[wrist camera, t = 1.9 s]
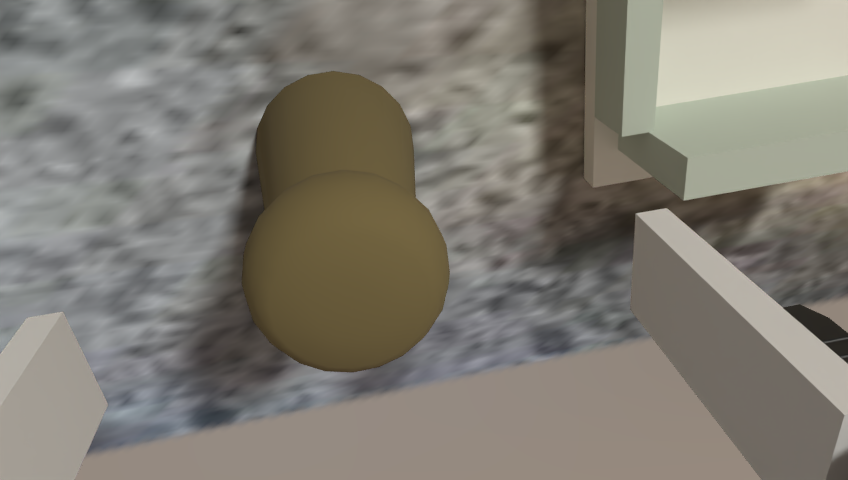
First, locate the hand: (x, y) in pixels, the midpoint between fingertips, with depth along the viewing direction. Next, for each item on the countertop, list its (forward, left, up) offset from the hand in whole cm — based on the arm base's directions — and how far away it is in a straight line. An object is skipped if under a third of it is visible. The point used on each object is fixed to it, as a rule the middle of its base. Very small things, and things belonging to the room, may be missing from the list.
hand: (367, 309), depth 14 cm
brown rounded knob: (0, 0, -11) cm, 11 cm away
